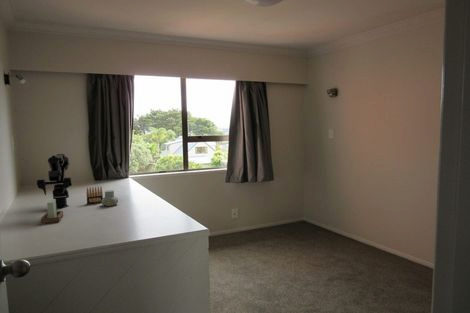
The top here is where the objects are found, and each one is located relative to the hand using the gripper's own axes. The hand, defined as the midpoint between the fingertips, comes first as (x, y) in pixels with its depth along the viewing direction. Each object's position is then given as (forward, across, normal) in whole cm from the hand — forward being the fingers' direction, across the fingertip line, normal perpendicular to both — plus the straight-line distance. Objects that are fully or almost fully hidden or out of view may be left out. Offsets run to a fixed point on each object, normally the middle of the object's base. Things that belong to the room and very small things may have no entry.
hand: (53, 193), depth 200 cm
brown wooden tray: (+16, 0, +3) cm, 16 cm away
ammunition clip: (-10, +21, +30) cm, 38 cm away
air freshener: (-2, +31, +22) cm, 38 cm away
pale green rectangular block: (+15, 0, +2) cm, 16 cm away
